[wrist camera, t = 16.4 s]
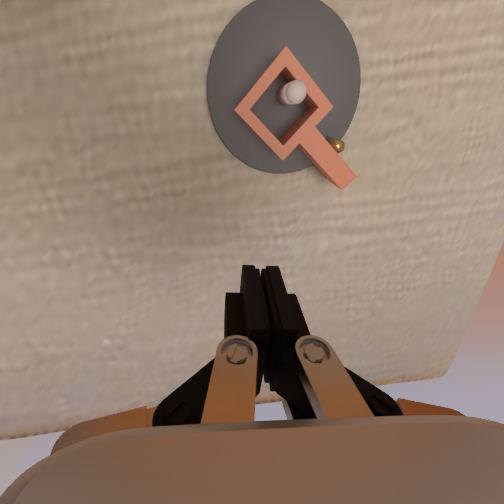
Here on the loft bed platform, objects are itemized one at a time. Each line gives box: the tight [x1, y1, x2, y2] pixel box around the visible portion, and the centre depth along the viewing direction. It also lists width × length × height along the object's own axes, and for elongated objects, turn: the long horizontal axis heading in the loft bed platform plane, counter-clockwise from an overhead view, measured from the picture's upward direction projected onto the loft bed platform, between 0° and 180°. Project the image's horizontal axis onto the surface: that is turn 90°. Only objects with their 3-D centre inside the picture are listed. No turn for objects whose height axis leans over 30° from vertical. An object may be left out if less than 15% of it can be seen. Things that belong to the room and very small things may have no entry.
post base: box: [207, 0, 360, 174], centre depth 25 cm, size 16×16×7 cm
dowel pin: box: [326, 138, 345, 153], centre depth 29 cm, size 1×1×3 cm
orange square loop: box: [234, 46, 357, 190], centre depth 28 cm, size 14×7×4 cm, turn 47°
